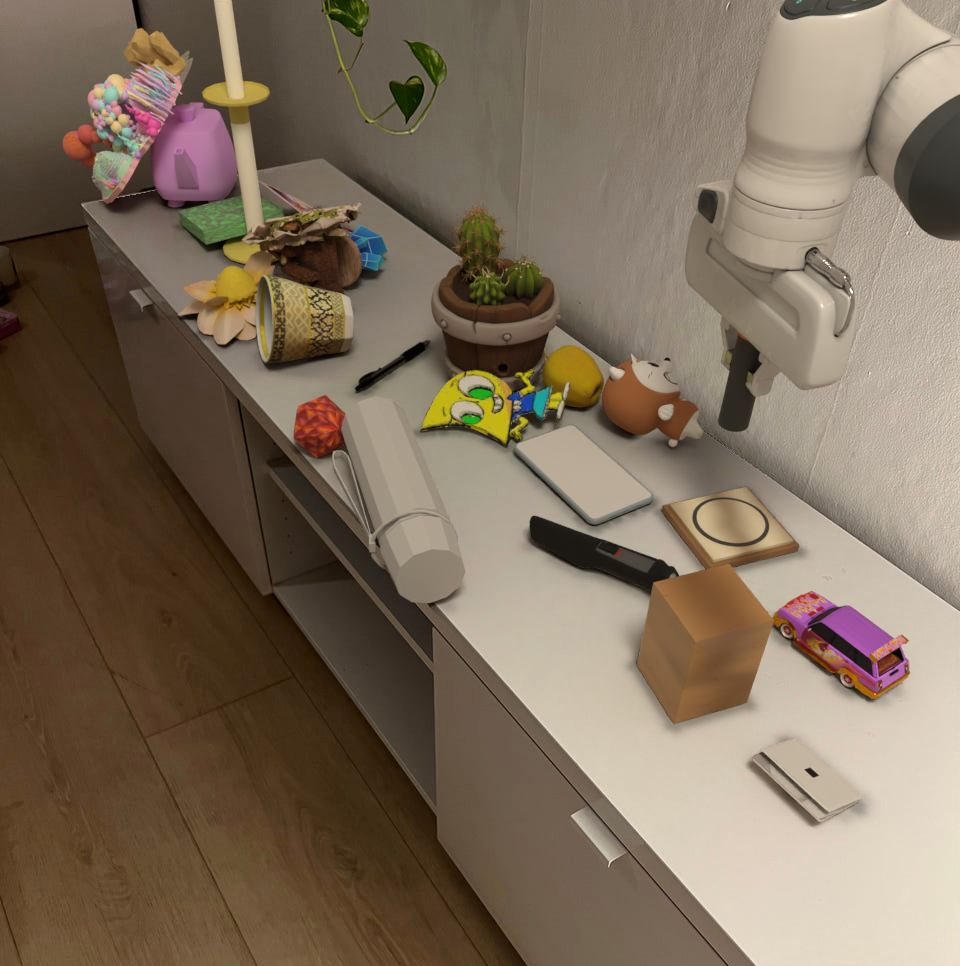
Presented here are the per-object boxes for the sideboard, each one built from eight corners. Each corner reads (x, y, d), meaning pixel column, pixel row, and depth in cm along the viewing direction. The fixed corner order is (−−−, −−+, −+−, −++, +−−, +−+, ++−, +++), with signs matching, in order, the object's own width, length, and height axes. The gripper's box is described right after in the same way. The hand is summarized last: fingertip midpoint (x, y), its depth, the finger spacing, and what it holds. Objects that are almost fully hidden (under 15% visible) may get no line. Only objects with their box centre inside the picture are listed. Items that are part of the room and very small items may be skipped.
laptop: (745, 767, 79) (755, 750, 78) (787, 748, 82) (798, 731, 81) (813, 832, 75) (825, 814, 74) (855, 809, 78) (867, 792, 77)
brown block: (706, 646, 89) (729, 563, 82) (746, 703, 84) (774, 620, 77) (636, 665, 87) (653, 582, 80) (673, 724, 83) (695, 641, 75)
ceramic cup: (359, 284, 114) (273, 280, 111) (356, 372, 119) (272, 371, 115) (330, 271, 125) (250, 267, 121) (328, 352, 129) (251, 350, 125)
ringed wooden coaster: (745, 492, 104) (748, 481, 104) (797, 551, 98) (801, 541, 97) (661, 511, 102) (663, 500, 101) (708, 573, 96) (711, 563, 95)
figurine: (723, 388, 102) (626, 330, 104) (675, 463, 104) (581, 405, 107) (731, 397, 111) (641, 343, 113) (686, 466, 113) (599, 412, 116)
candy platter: (178, 63, 155) (123, 18, 149) (214, 45, 136) (153, -8, 130) (97, 203, 157) (40, 164, 151) (121, 205, 138) (58, 160, 132)
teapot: (168, 170, 159) (152, 84, 150) (247, 171, 160) (235, 85, 151) (147, 223, 146) (127, 132, 136) (232, 224, 146) (219, 132, 137)
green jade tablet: (254, 191, 149) (258, 208, 150) (177, 211, 144) (182, 228, 146) (282, 209, 141) (286, 227, 142) (202, 230, 137) (207, 248, 138)
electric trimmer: (539, 529, 100) (541, 504, 98) (681, 584, 94) (687, 559, 92) (521, 549, 98) (522, 524, 95) (665, 607, 92) (670, 582, 90)
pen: (348, 382, 115) (349, 390, 116) (359, 387, 115) (360, 395, 116) (422, 333, 123) (422, 342, 124) (433, 338, 123) (433, 346, 124)
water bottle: (407, 386, 103) (473, 538, 87) (405, 449, 109) (467, 603, 92) (319, 394, 101) (370, 552, 84) (322, 458, 106) (370, 617, 90)
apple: (598, 385, 109) (538, 346, 110) (577, 428, 114) (520, 390, 115) (622, 360, 113) (565, 323, 114) (601, 402, 118) (546, 366, 119)
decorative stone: (309, 395, 101) (277, 393, 107) (310, 462, 102) (278, 456, 109) (364, 396, 104) (330, 393, 110) (365, 460, 106) (331, 454, 112)
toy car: (805, 602, 93) (818, 565, 90) (909, 681, 86) (928, 645, 83) (763, 626, 91) (775, 589, 87) (867, 709, 84) (884, 673, 81)
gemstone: (309, 287, 134) (348, 259, 143) (367, 288, 131) (403, 260, 140) (298, 230, 130) (339, 205, 138) (358, 230, 127) (395, 205, 136)
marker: (738, 412, 92) (766, 301, 84) (755, 429, 91) (784, 317, 83) (711, 417, 92) (736, 306, 84) (727, 434, 90) (754, 323, 82)
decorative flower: (329, 299, 127) (308, 338, 136) (275, 226, 126) (258, 269, 135) (234, 349, 120) (219, 385, 129) (177, 271, 119) (166, 313, 128)
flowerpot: (581, 387, 117) (599, 219, 103) (471, 425, 112) (473, 252, 97) (513, 333, 126) (521, 170, 111) (407, 365, 120) (401, 198, 106)
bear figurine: (218, 237, 122) (249, 335, 128) (324, 217, 117) (352, 321, 123) (270, 214, 133) (297, 306, 139) (370, 196, 127) (393, 292, 134)
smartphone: (592, 522, 99) (510, 444, 108) (591, 529, 100) (510, 451, 108) (657, 496, 102) (573, 422, 111) (656, 503, 103) (572, 429, 111)
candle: (243, 228, 145) (195, -84, 118) (305, 239, 143) (271, -76, 116) (209, 257, 139) (150, -66, 111) (274, 269, 137) (230, -57, 109)
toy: (550, 454, 107) (419, 427, 110) (551, 457, 108) (420, 431, 111) (572, 373, 110) (443, 349, 112) (572, 377, 111) (444, 353, 113)
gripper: (897, 277, 72) (842, 437, 82) (750, 170, 85) (718, 319, 95) (823, 290, 70) (776, 451, 80) (685, 179, 84) (660, 329, 94)
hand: (744, 379), depth 88 cm, fingers closed on marker, 3 cm apart
